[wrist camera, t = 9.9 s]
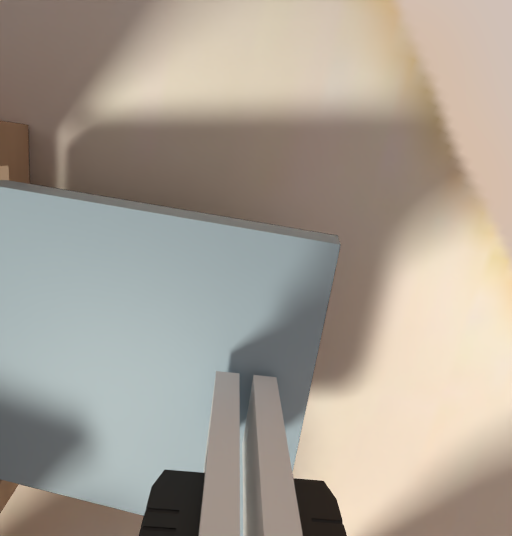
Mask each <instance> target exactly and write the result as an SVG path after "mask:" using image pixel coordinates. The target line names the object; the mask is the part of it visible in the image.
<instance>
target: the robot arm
mask: <svg viewBox="0 0 512 536" xmlns="http://www.w3.org/2000/svg"><path fill="white" fill-rule="evenodd" d="M242 463H243V536H347V535H346V532H345V528H344V525H343V524H342V517H341V514H340V510H339V507H338V503H337V500H336V498H335V497H334V495H333V494H332V492H331V491H330V489H329V488H328V487H327V485H326V484H325V482H324V481H318V480H305V479H293V474H292V468H291V462H290V456H289V450H288V444H287V438H286V432H285V426H284V420H283V414H282V408H281V402H280V396H279V390H278V384H277V378H276V377H270V376H260V375H253V381H252V387H251V393H250V399H249V405H248V411H247V418H246V424H245V430H244V436H243V442H242ZM139 536H240V393H239V373H231V372H221V371H216V376H215V384H214V391H213V399H212V406H211V414H210V422H209V429H208V437H207V445H206V454H205V463H204V472H203V473H202V472H190V471H177V470H164V471H163V472H162V474H161V475H160V476H159V478H158V479H157V480H156V481H155V483H154V484H153V485H152V487H151V491H150V495H149V498H148V502H147V506H146V511H145V514H144V518H143V521H142V525H141V530H140V533H139Z"/></svg>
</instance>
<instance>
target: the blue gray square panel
mask: <svg viewBox="0 0 512 536" xmlns="http://www.w3.org/2000/svg"><path fill="white" fill-rule="evenodd" d="M340 245H341V244H340V241H339V239H338V236H337V235H331V234H325V233H319V232H313V231H307V230H301V229H295V228H289V227H283V226H277V225H271V224H266V223H260V222H254V221H248V220H242V219H236V218H230V217H224V216H218V215H212V214H206V213H200V212H194V211H188V210H182V209H176V208H170V207H164V206H158V205H152V204H146V203H140V202H135V201H129V200H123V199H117V198H111V197H105V196H99V195H93V194H87V193H81V192H75V191H69V190H63V189H57V188H51V187H45V186H39V185H33V184H27V183H21V182H15V181H10V180H0V479H1V480H5V481H9V482H13V483H17V484H21V485H25V486H28V487H32V488H36V489H40V490H44V491H48V492H52V493H56V494H60V495H64V496H68V497H72V498H76V499H80V500H84V501H88V502H92V503H96V504H100V505H104V506H108V507H112V508H116V509H119V510H123V511H127V512H131V513H135V514H139V515H143V516H144V514H145V511H146V506H147V502H148V498H149V495H150V491H151V487H152V485H153V484H154V483H155V481H156V480H157V479H158V478H159V476H160V475H161V474H162V472H163V471H164V470H177V471H190V472H202V473H203V472H204V463H205V454H206V445H207V437H208V429H209V422H210V414H211V406H212V399H213V391H214V384H215V376H216V371H221V372H231V373H239V393H240V536H243V463H242V442H243V436H244V430H245V424H246V418H247V411H248V405H249V399H250V393H251V387H252V381H253V375H260V376H270V377H276V378H277V384H278V390H279V396H280V402H281V408H282V414H283V420H284V426H285V432H286V438H287V444H288V450H289V456H290V462H291V468H292V471H293V467H294V462H295V457H296V453H297V448H298V443H299V438H300V434H301V429H302V424H303V420H304V415H305V410H306V406H307V401H308V396H309V391H310V387H311V382H312V377H313V373H314V368H315V363H316V358H317V354H318V349H319V344H320V340H321V335H322V330H323V325H324V321H325V316H326V311H327V307H328V302H329V297H330V292H331V288H332V283H333V278H334V274H335V269H336V264H337V259H338V255H339V250H340Z"/></svg>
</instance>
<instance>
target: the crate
mask: <svg viewBox="0 0 512 536" xmlns="http://www.w3.org/2000/svg"><path fill="white" fill-rule="evenodd" d="M0 180H10V181H15V182H21V183H27V184H30V183H29V137H28V125H25V124H19V123H12V122H5V121H0ZM18 485H19V484H17V483H13V482H9V481H5V480H1V479H0V513H1V511H2V510H3V508H4V507H5V505H6V503H7V502H8V500H9V499H10V497H11V496H12V494H13V492H14V491H15V489H16V488H17V486H18Z"/></svg>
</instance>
